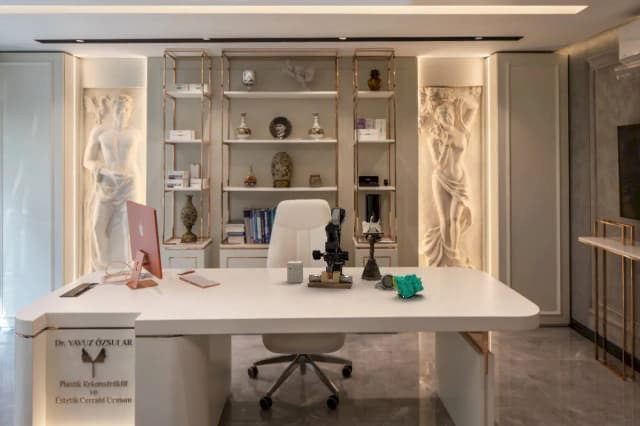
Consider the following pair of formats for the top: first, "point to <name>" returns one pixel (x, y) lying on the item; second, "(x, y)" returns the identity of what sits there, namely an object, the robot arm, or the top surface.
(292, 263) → the small box
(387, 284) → the ceramic mug
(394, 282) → the teal lumpy block
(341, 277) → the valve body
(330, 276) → the lever
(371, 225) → the bird statue
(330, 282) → the walnut board
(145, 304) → the top surface
